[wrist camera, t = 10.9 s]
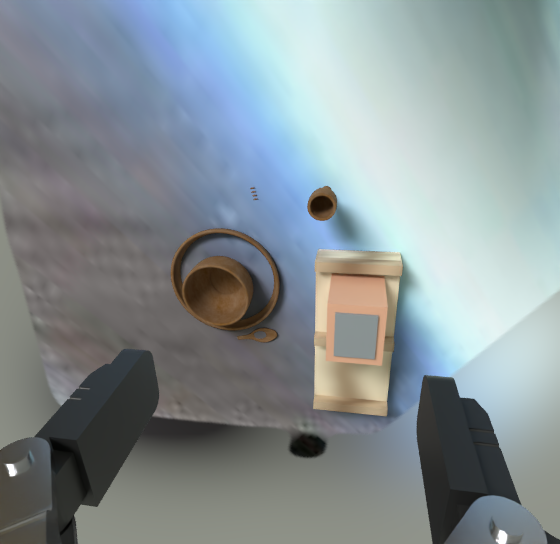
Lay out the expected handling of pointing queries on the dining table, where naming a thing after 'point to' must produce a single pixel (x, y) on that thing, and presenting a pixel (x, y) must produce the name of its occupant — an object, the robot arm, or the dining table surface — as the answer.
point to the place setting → (234, 279)
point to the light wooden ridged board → (328, 375)
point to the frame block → (356, 319)
